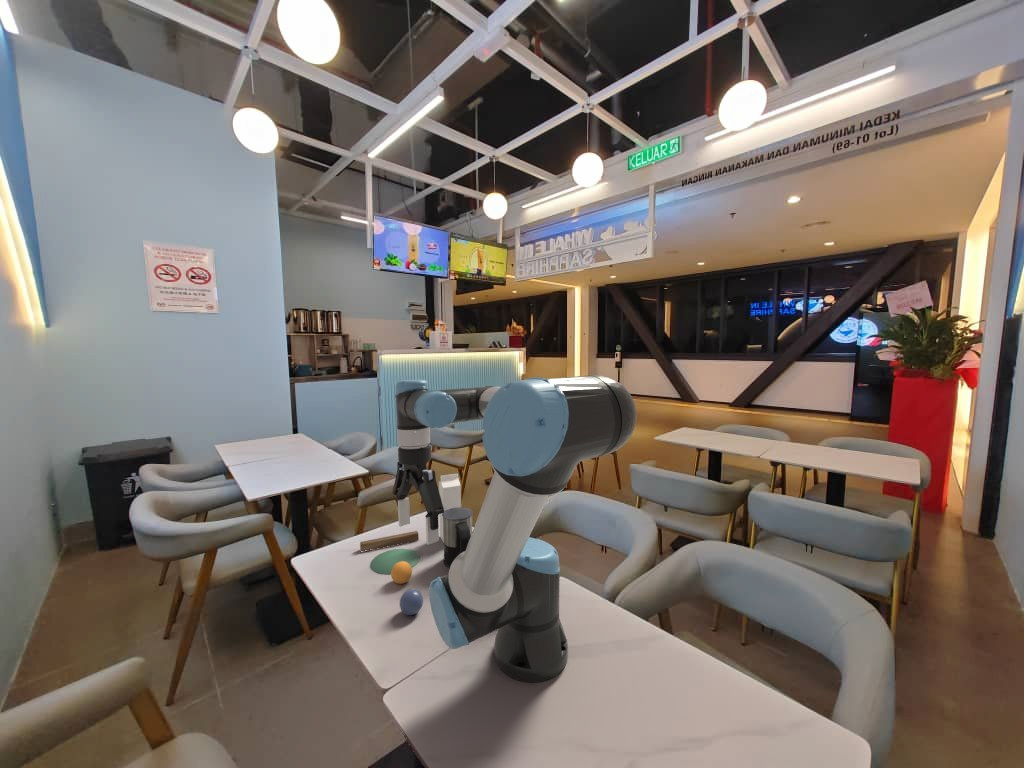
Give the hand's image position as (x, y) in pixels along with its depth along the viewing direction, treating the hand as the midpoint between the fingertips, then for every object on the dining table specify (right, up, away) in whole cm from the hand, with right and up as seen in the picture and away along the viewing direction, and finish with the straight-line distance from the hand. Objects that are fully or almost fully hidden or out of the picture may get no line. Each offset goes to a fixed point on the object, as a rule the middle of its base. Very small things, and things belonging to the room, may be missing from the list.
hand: (417, 533), depth 94 cm
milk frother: (+11, -18, +24) cm, 32 cm away
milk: (+2, -16, +38) cm, 41 cm away
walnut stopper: (-17, -17, +34) cm, 41 cm away
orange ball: (-7, -16, +13) cm, 22 cm away
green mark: (-12, -17, +24) cm, 32 cm away
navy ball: (-2, -17, 0) cm, 17 cm away
